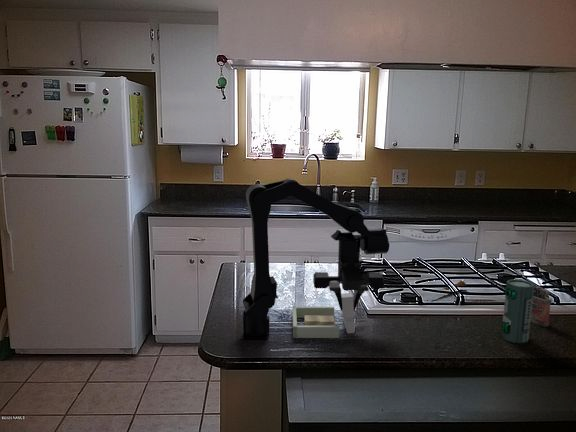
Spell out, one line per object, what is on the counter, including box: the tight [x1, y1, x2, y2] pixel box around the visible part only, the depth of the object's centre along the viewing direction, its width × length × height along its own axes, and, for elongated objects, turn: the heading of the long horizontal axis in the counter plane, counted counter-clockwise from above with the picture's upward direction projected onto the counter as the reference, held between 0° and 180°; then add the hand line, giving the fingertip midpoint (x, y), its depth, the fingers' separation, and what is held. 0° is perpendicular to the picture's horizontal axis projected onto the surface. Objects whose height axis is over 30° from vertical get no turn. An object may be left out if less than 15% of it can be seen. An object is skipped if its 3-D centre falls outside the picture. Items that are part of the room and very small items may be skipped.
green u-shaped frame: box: [292, 306, 340, 339], centre depth 129 cm, size 12×14×3 cm
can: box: [501, 278, 535, 344], centre depth 121 cm, size 6×6×15 cm
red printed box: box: [530, 285, 552, 327], centre depth 133 cm, size 8×3×10 cm, turn 23°
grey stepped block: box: [341, 292, 356, 334], centre depth 129 cm, size 3×9×9 cm, turn 0°
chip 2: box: [319, 316, 336, 326], centre depth 130 cm, size 4×4×2 cm
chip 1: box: [303, 315, 320, 326], centre depth 130 cm, size 4×4×2 cm
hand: (347, 310), depth 129 cm, fingers closed on grey stepped block, 3 cm apart
